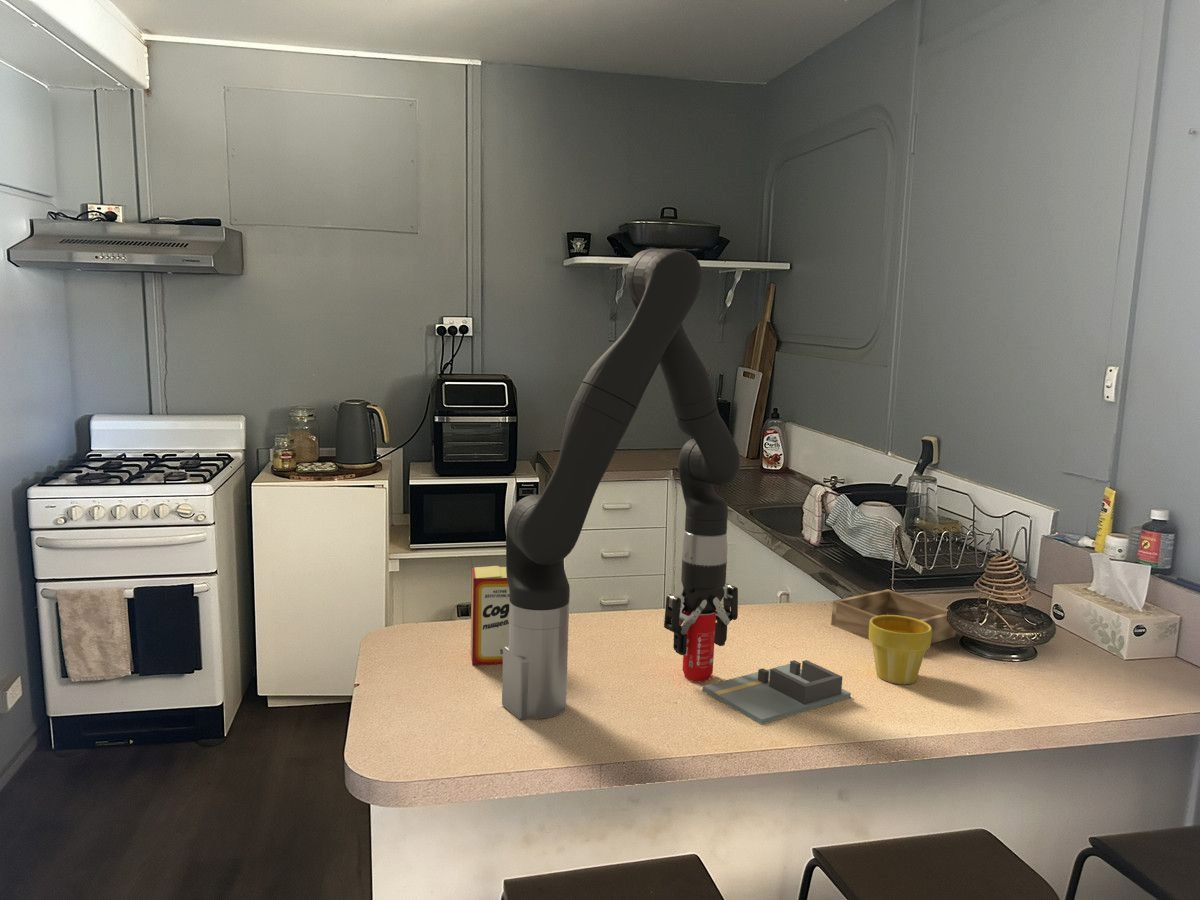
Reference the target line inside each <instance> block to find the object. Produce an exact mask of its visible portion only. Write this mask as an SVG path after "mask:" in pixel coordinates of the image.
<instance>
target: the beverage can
mask: <svg viewBox="0 0 1200 900" xmlns="http://www.w3.org/2000/svg"><path fill="white" fill-rule="evenodd" d="M686 615H687V616H690V615H691V614H690V613H688V611H687V613H686ZM716 622H717V621H716V614H715V610H714V612H713V611H712V612H710V613H700V614H699V616H698V618H697V619H696V621H695V623H694V624H691V626H690V627H689V629H688V631H687V632H686V634H687V648H686V654H685V655H682V672H683V675H684V678H685V679H686V680H688V681H691V682H697V683H703V682H707V681H709V680H710V679H711V676H712V674H713V671H714V657H715V655H714V654H715V643H714V641H715V624H716Z"/></svg>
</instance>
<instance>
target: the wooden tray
mask: <svg viewBox="0 0 1200 900" xmlns="http://www.w3.org/2000/svg"><path fill="white" fill-rule="evenodd" d="M831 608H832V610H831V619H830V620H831V621H830V625H831V626H834V627H837V628H839V629H842V630H845V631H847V632H849V633H852V634H854V635H857V636H859V637H862V638H864V639H867V640H869V622H870V619H871V618H873V617H875V616H880V615H898V616H906V617H911V618H915V619H918V620H921V621H923V622H925V623H927V624H929V625H930V626H931V628H932V638H931V644H934V643H938V642H941V641H946V640H949V639H952V638H956V633H957V630H956V631H955V630H954V629H953V628H952V627H951V626H950V625H949V623H948V621H947V611H948V610H949V609H947V608H945V607H942V606H938V605H936V604H933V603H929V602H927V601H924V600H921V599H919V598H915V597H912V596H910V595H906V594H903V593H900V592H897V591H895V590H892V589H884V590H877V591H874V592H873V591H872V592H869V593H863V594H858V595H853V596H850V597H843V598H841V599H836V600H833V601H832V607H831ZM869 641H870V640H869Z"/></svg>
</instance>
